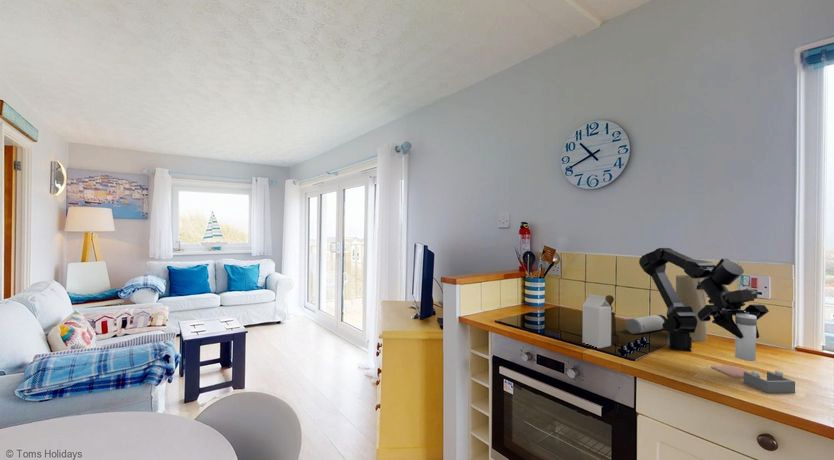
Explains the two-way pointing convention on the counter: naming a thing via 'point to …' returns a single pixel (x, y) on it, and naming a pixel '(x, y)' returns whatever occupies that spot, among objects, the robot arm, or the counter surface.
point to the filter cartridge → (746, 337)
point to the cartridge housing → (770, 382)
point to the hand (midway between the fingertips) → (749, 337)
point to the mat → (731, 371)
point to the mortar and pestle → (612, 321)
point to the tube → (692, 302)
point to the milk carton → (597, 321)
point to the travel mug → (645, 324)
